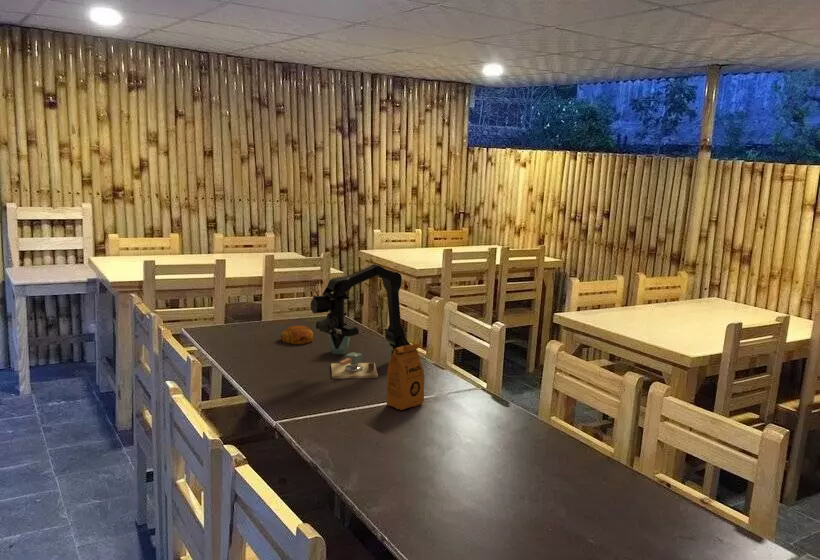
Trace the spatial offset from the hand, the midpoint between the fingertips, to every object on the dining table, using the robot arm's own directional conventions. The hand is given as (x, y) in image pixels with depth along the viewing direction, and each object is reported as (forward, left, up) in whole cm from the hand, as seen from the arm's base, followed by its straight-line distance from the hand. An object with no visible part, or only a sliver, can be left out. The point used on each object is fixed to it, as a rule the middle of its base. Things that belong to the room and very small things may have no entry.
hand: (336, 348), depth 262 cm
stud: (-7, -1, -10) cm, 12 cm away
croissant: (+17, -48, -11) cm, 52 cm away
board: (-7, -1, -10) cm, 12 cm away
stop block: (-14, +1, -10) cm, 17 cm away
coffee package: (-23, +37, -10) cm, 45 cm away
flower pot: (-2, -27, -10) cm, 29 cm away
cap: (-5, +1, -6) cm, 8 cm away
